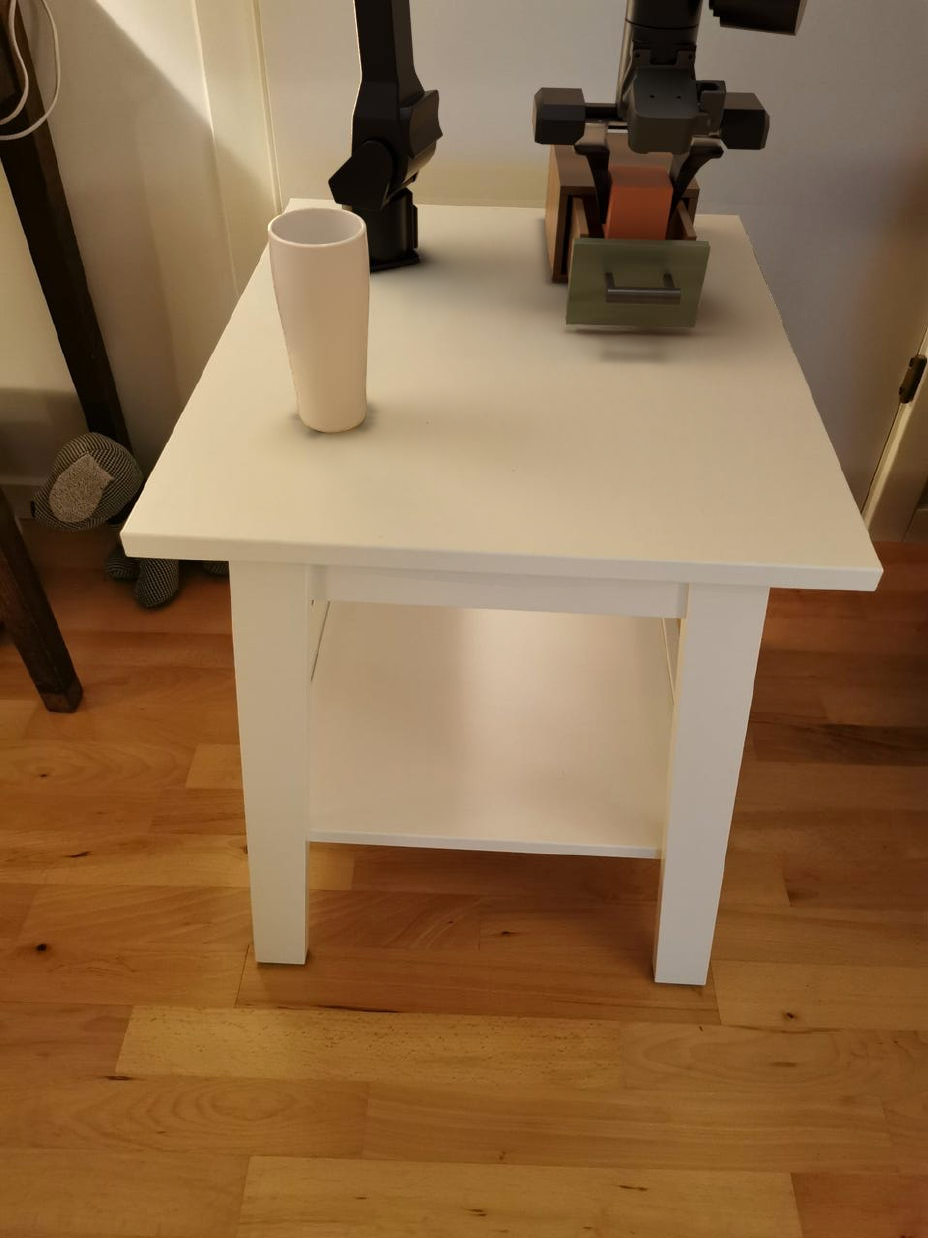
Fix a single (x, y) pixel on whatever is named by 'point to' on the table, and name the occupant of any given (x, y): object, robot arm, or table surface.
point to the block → (638, 203)
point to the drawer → (632, 272)
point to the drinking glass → (324, 311)
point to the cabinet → (591, 190)
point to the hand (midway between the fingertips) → (633, 222)
